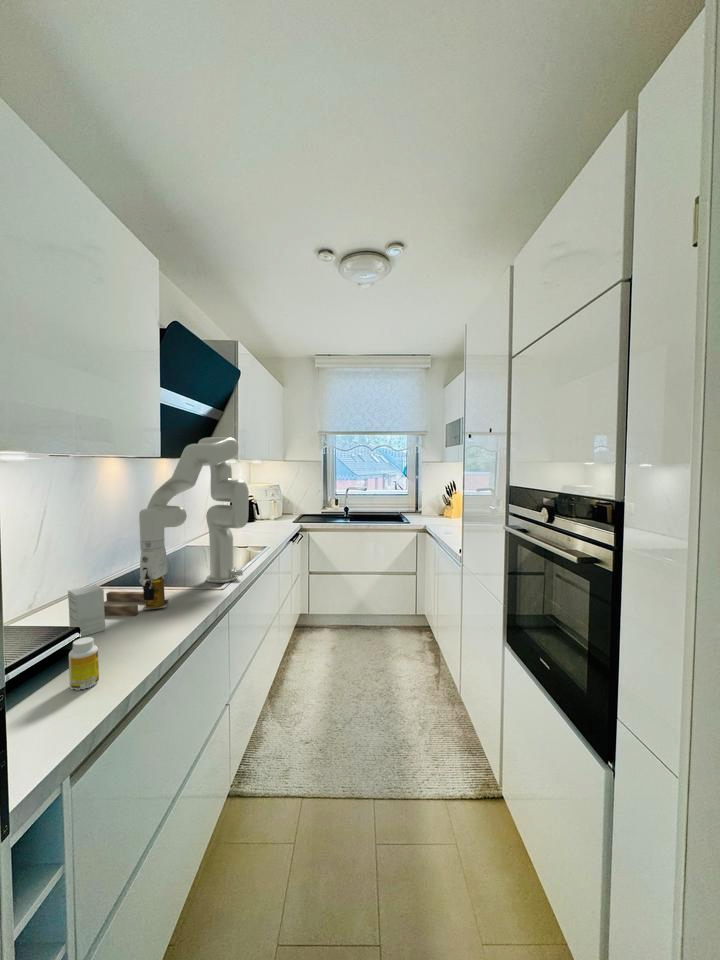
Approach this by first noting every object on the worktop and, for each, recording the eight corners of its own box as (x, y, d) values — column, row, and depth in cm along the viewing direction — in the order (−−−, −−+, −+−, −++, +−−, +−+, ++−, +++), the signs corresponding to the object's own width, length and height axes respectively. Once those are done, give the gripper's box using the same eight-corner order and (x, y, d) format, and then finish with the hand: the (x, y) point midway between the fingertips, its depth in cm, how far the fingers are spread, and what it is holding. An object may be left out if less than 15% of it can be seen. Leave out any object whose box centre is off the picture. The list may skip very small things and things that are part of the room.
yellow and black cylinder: (142, 610, 141) (140, 575, 140) (146, 601, 149) (145, 568, 149) (165, 607, 143) (164, 573, 143) (169, 599, 151) (168, 566, 151)
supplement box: (96, 624, 131) (95, 584, 130) (105, 630, 126) (104, 588, 125) (69, 631, 125) (67, 589, 125) (77, 638, 121) (75, 595, 120)
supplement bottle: (102, 684, 96) (100, 640, 96) (73, 694, 92) (71, 648, 91) (95, 675, 100) (93, 633, 99) (67, 685, 96) (65, 641, 95)
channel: (158, 600, 153) (158, 592, 153) (134, 615, 138) (134, 606, 138) (110, 599, 154) (109, 591, 154) (81, 614, 139) (80, 605, 139)
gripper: (149, 550, 135) (151, 605, 136) (175, 539, 153) (176, 588, 154) (126, 550, 136) (128, 605, 137) (155, 539, 153) (156, 588, 154)
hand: (154, 596), depth 145 cm, fingers closed on yellow and black cylinder, 6 cm apart
